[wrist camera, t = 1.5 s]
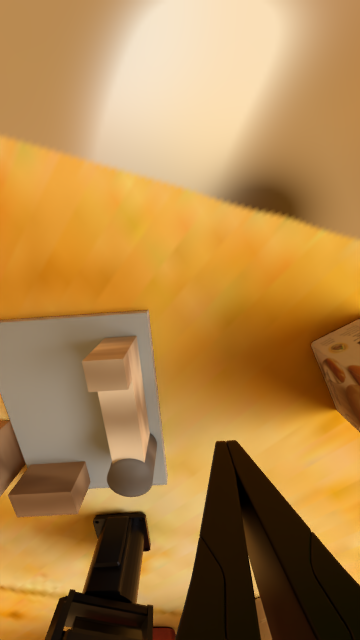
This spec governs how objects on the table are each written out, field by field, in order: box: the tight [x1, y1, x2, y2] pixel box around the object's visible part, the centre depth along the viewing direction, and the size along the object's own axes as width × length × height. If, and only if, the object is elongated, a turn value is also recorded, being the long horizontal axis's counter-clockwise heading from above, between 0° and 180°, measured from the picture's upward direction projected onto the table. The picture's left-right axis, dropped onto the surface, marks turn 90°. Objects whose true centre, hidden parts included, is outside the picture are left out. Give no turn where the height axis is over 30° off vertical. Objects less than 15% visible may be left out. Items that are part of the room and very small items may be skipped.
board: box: [0, 310, 167, 489], centre depth 20 cm, size 20×15×1 cm
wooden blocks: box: [0, 421, 91, 517], centre depth 20 cm, size 8×10×4 cm
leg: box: [82, 336, 157, 497], centre depth 17 cm, size 14×4×4 cm, turn 4°
